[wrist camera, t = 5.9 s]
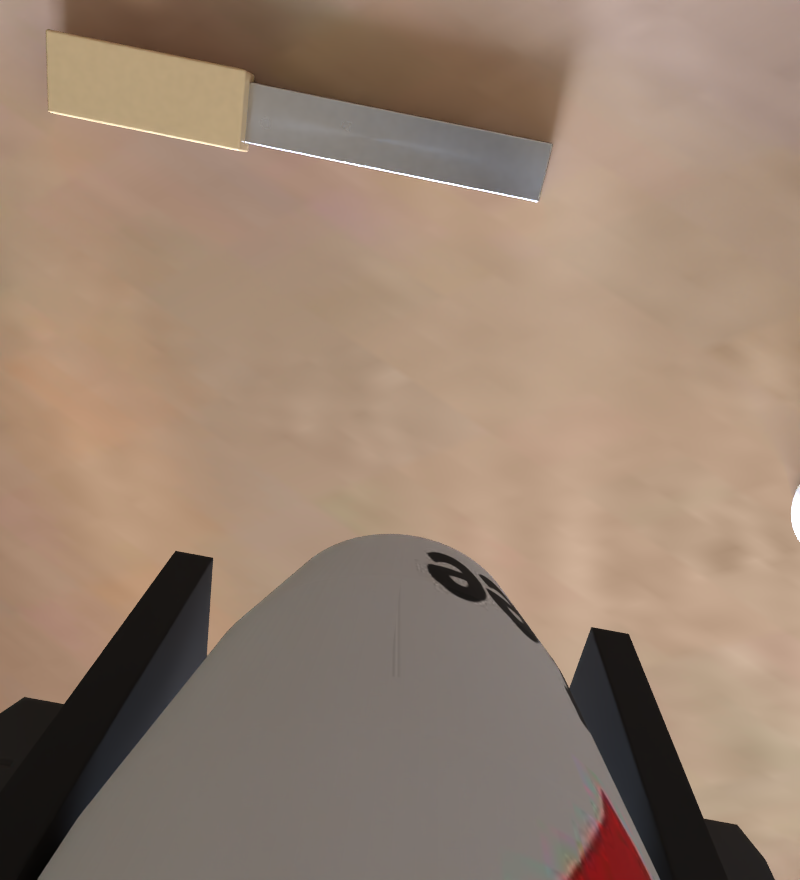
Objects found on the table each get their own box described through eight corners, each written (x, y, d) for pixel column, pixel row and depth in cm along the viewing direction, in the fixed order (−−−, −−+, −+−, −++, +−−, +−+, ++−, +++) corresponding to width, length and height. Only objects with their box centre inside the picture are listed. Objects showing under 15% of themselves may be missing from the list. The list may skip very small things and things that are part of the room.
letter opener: (553, 135, 23) (558, 133, 22) (534, 210, 24) (538, 211, 23) (64, 35, 23) (44, 28, 22) (65, 115, 24) (47, 112, 23)
